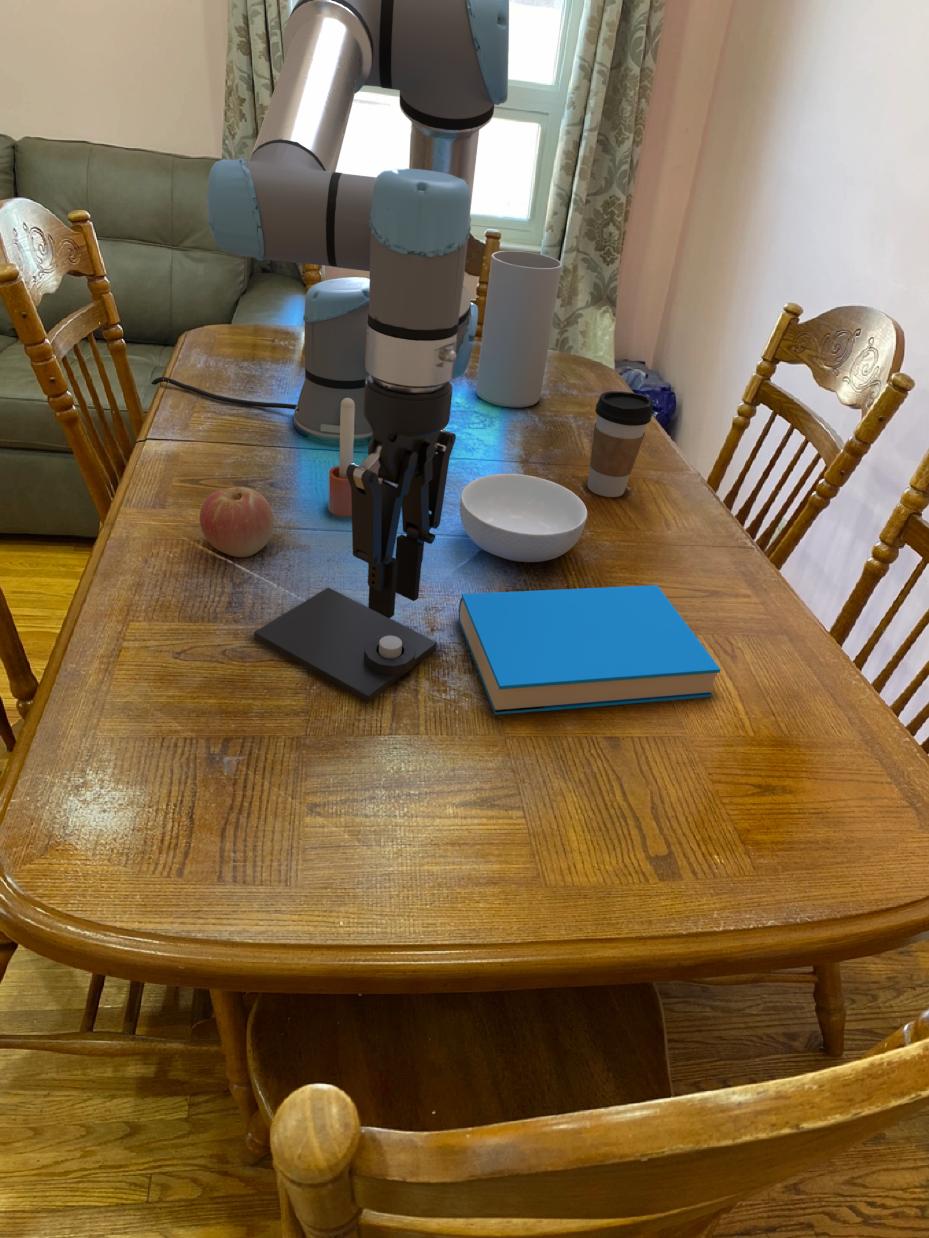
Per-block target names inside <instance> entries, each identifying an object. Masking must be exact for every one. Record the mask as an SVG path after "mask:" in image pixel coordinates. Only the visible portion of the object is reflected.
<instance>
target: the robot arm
mask: <svg viewBox="0 0 929 1238" xmlns="http://www.w3.org/2000/svg"><path fill="white" fill-rule="evenodd" d="M282 41H283V43H282V45H283V53H284V62H283V64H282V67H281V70H280V72H279V75H278V78H277V81H276V84H275V86H274V90H273V93H272V95H271V98H270V101H269V104H268V107H267V109H266V112H265V115H264V118H263V121H262V124H261V126H260V129H259V132H258V134H257V138H256V140H255V143H254V146H253V149H252V151H251V154H250V158H249V160H246V159H245V158H242V157H239V158H237V159H227V158H226V159H225V158H224V159H223V158H222V159H220V160H217V161H215V162H214V163H213V165H212V166H211V169H210V171H209V174H208V179H207V186H206V213H207V222H208V227H209V231H210V235H211V238H212V240H213V243H214V244H215V246H217V248H218V249H219V250H221V251H222V252H223V253H226V254H230V255H237V256H242V257H248V258H253V259H256V260H257V261H274V262H284V263H286V262H287V263H295V264H305V265H313V266H315V265H316V266H325V267H333V268H337V269H338V268H339V269H346V270H347V269H348V270H355V271H364V272H369V278H366V277H340V278H331V279H327V280H323V281H320V282H317V283H315V284H313V285H312V286H310V287H309V289H308V290H307V292H306V294H305V298H304V299H305V300H304V313H303V314H304V315H303V318H302V319H303V322H304V381H303V384H302V387H301V390H300V393H299V397H298V400H297V404H296V403H295V404H294V403H293V404H292V403H283V402H265V401H255V400H247V399H241V398H233V397H228V396H224V395H220V394H215V393H211V392H209V391H206V390H204V389H201V388H199V387H195V386H193V385H189V384H185V383H183V382H180V381H178V380H175V379H173V378H171V377H166V376H159V377H156V378H154V379H153V380H152V381H151V382H150V385H158V384H159V383H168V384H171V385H173V386H175V387H178V388H180V389H183V390H185V391H189V392H193V393H195V394H198V395H201V396H203V397H206V398H209V399H213V400H216V401H220V402H224V403H230V404H235V405H242V406H250V407H257V408H258V407H259V408H271V409H272V408H274V409H287V410H294V413H293V425H294V428H295V430H297V432H299V433H300V434H301V435H303V436H305V437H306V438H312V439H315V440H319V441H323V442H329V443H339V444H340V416H341V402H342V400H343V399H345V398H350V399H352V400H353V401H354V403H355V414H354V443H362V442H363V443H364V442H369V444H368V448H367V454H368V456H367V457H366V458H365V459H364V460H363V461H362V462H361V464H359V465H358V464H356V463H354V462H353V463H352V464H350V465H349V466H348V467H347V470H346V474H347V477H348V480H349V483H350V486H351V499H352V516H351V538H352V539H351V541H352V542H351V543H352V556H353V557H355V558H356V559H359V560H360V561H363V562H364V563H367V564H368V566H367V586H368V602H367V603H368V604H367V605H368V606H367V607H368V608H370V609H372V610H374V611H376V612H378V613H380V614H381V615H383V616H385V617H387V618H390V619H392V617H394V616H395V608H396V597H397V596H396V595H400V596H402V597H404V598H406V599H408V600H410V601H412V602H415V601H417V600H418V599H419V597H420V596H419V595H420V586H421V585H420V584H421V574H422V563H423V560H424V550H425V543H426V544H428V545H431V544H433V543H434V541H435V539H436V534H434V533H432V532H430V530H432V529H434V530H437V529H438V528H439V527H440V525H441V520H442V519H441V518H442V513H443V506H444V499H445V492H446V484H447V478H448V472H449V465H450V457H451V455H452V451H453V450H454V449H453V448H454V445H455V442H456V439H457V436H456V433H454V432H451V431H449V430H446V429H445V428H446V427H447V426H448V425H449V423H450V417H451V408H452V399H453V391H454V390H453V389H454V388H453V385H452V384H451V382H450V381H451V380H452V379H457V378H459V377H461V376H463V375H464V373H465V372H466V371H467V369H468V366H469V363H470V360H471V357H472V353H473V349H474V344H475V338H476V335H477V329H478V323H479V322H478V320H479V307H478V305H477V304H475V303H473V302H471V294H470V292H469V290H468V288H467V287H466V286H465V285H464V281H465V271H466V262H467V253H468V243H469V238H470V235H471V230H472V226H471V222H472V217H471V209H472V200H473V190H474V181H475V173H476V164H477V154H478V145H479V135H480V130H481V129H483V128H484V127H486V126H487V125H488V124H489V123H490V122H491V121H492V119H493V116H494V112H495V106H499V105H501V104H505V103H506V102H507V101H508V95H509V52H510V51H509V48H510V0H298V1H297V2H296V4H295V5H294V6H293V8H292V10H291V12H290V15H289V17H288V20H287V23H286V24H285V28H284V32H283V40H282ZM364 86H365V87H376V88H381V89H385V90H387V89H388V90H395V91H399V108H400V110H401V113H403V115H404V116H405V117H406V118H407V120H409V121H410V134H409V136H410V137H409V138H410V139H409V140H410V141H409V163H408V168H406V167H405V168H400V167H399V168H393V169H385V170H383V171H381V172H379V173H378V175H376V176H367V175H359V174H350V173H344V172H338V171H337V167H338V163H339V159H340V155H341V152H342V147H343V143H344V138H345V134H346V131H347V126H348V123H349V118H350V115H351V110H352V106H353V102H354V98H355V95H356V94H357V93H358V92H360V90H361V89H362V88H363V87H364ZM336 171H337V172H336ZM163 379H164V380H163ZM168 381H169V382H168ZM400 517H402V518H400ZM400 519H401V522H402V532H403V533H404V534H406V535H404V534H402V533H401V534H400V535H398V536H397V534H398V529H399V523H400ZM395 545H396V546H395ZM394 551H395V557H394Z"/></svg>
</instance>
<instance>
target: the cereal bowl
mask: <svg viewBox="0 0 929 1238" xmlns="http://www.w3.org/2000/svg"><path fill="white" fill-rule="evenodd" d="M459 517H460V522H461V525H462V527H463V530H464V531H465V532H464V533H466V534H467V537H469V538H470V540H471V541H472V542H473V543H474V544H476V546H478V547H479V548H481V549H482V550H484V551H485V552H488V553H489V554H491V555H494V556H496V557H499V558H502V559H506V560H509V561H512V562H519V563H520V562H521V563H522V562H523V563H539V562H545V561H549V560H553V559H554V560H555V559H556V558H558V557H561V556H562V555H565V554H566V553H568V552H569V551H570V550H571V549H572V548H573V547H575V545H576V544H577V543H578V541H579V540H580V537H581V535H582V533H583V531H584V528H585V526H586V522H587V519H588V511H587V507H586V505H585V503H584V502H583V500H582V499H581V498H580V497H579V496H578V495H577V494H575V492H573V491H571V490H570V489H568V488H567V487H565V486H563V485H561V484H559V483H557V482H554V481H551V480H548V479H545V478H541V477H538V476H533V475H526V474H521V473H520V474H519V473H496V474H488V475H485V476H481V477H478V478H476V479H473V480H471V481H470V482H469V483H468V484H467V485H465V486H464V488H463V489H462V491H461V495H460V498H459Z"/></svg>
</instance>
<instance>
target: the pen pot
mask: <svg viewBox="0 0 929 1238" xmlns="http://www.w3.org/2000/svg"><path fill="white" fill-rule="evenodd" d="M327 474H328V477H327V479H328V480H327V481H328V482H327V483H328V485H327V509H328V511H329V513H331V514H332V515H334V516H336V517H340V518H341V517H342V518H343V517H344V518H349V517H351V518H352V499H351V486H350V483H349V480H348V479H342V478H339V465H336V466H333V467H331V468H330V469H329V470H328V473H327Z"/></svg>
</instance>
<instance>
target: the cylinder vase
mask: <svg viewBox="0 0 929 1238" xmlns="http://www.w3.org/2000/svg"><path fill="white" fill-rule="evenodd" d="M490 259H491V260H490V268H489V274H488V275H489V276H488V284H487V292H486V299H485V300H486V301H485V308H484V309H485V310H484V318H483V324H482V333H481V342H480V350H479V357H478V358H479V359H478V368H477V377H476V385H475V392H476V395H478V397H479V398H480V399H482V400H483V401H485V402H487V403H489V404H491V405H495V406H499V407H505V408H514V409H516V408H517V409H521V408H528V407H531V406H534V405H536V404H537V403H538V402H539V401H540V399H541V394H542V388H543V383H544V376H545V371H546V364H547V359H548V353H549V347H550V340H551V335H552V330H553V329H552V328H553V323H554V316H555V312H556V311H555V310H556V304H557V299H558V292H559V288H560V281H561V275H562V269H563V262H561V260H559V259H556V258H554V257H551V256H549V255H544V254H541V253H535V252H529V251H521V250H520V251H519V250H500V251H496V252H493V253H491V257H490Z"/></svg>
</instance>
